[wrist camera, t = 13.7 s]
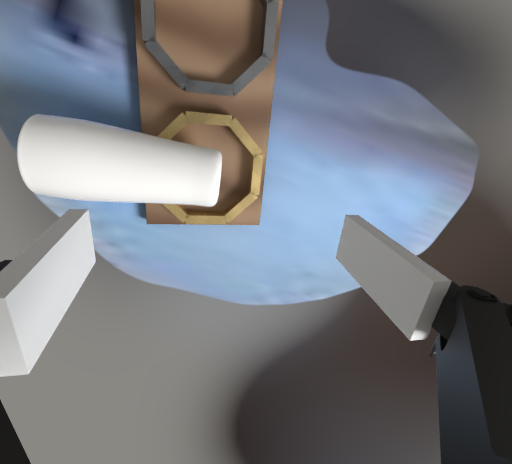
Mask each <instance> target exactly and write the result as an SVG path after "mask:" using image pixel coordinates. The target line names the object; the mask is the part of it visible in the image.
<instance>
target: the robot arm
mask: <svg viewBox="0 0 512 464" xmlns="http://www.w3.org/2000/svg"><path fill="white" fill-rule="evenodd" d="M336 259H337V260H338V261H339V262H340V263H341V264H342V265H343V267H344V268H345V269H346V270H347V271H348V272H349V273H350V274H351V275H352V277H353V278H354V279H355V280H356V281H357V282H358V283H359V284H360V285H361V287H362V288H363V289H364V290H365V291H366V292H367V293H368V294H369V295H370V297H371V298H372V299H373V300H374V301H375V302H376V303H377V304H378V305H379V307H380V308H381V309H382V310H383V311H384V312H385V313H386V314H387V315H388V317H389V318H390V319H391V320H392V321H393V322H394V323H395V324H396V326H397V327H398V328H399V329H400V330H401V331H402V332H403V333H404V334H405V335H406V337H407V338H408V339H409V340H410V341H411V340H422V339H427V336H428V334H429V332H430V330H431V327H433V328H434V329H435V330H436V331H437V332H438V333H439V334H438V336H437V338H436V341H435V343H434V345H433V347H432V349H431V352H430V354H429V356H430V357H432V356H433V354H435V353H436V365H437V384H438V385H437V386H438V408H439V429H440V449H441V450H440V451H441V464H512V304H507V303H501V301H500V300H499V299H498V298H497V297H496V296H495V295H493V294H491V293H490V292H488V291H486V290H483V289H480V288H478V287H474V286H468V285H463V286H458V285H457V284H456V283H454V282H453V281H451V280H450V279H448V278H447V277H446V276H444V275H443V274H441V273H440V272H438V271H437V270H436V269H434V268H433V267H431V266H430V265H429V264H427V263H426V262H424V261H423V260H422V259H419V258H418V257H417V256H415V255H414V254H412V253H411V252H410V251H408V250H407V249H405V248H404V247H403V246H401V245H400V244H398V243H397V242H395V241H394V240H393V239H391V238H390V237H388V236H387V235H386V234H384V233H383V232H381V231H380V230H378V229H377V228H376V227H374V226H373V225H371V224H370V223H369V222H367V221H366V220H364V219H363V218H361V217H360V216H359V215H346V217H345V221H344V225H343V229H342V234H341V238H340V242H339V246H338V250H337V255H336ZM95 262H96V260H95V252H94V246H93V239H92V232H91V225H90V218H89V212H88V209H69V210H68V211H67V212H66V213H65V214H64V215H63V216H61V217H60V218H59V219H58V220H57V221H56V222H55V223H54V224H53V225H51V226H50V227H49V228H48V229H47V230H46V231H45V232H44V233H43V234H42V235H40V236H39V237H38V238H37V239H36V240H35V241H34V242H33V243H31V244H30V245H29V246H28V247H27V248H26V249H25V250H24V251H23V252H21V253H20V254H19V255H18V256H17V257H16V258H15V259H14V260H5V261H2V262H0V377H2V376H14V375H25V374H29V373H30V371H31V369H32V368H33V366H34V364H35V363H36V361H37V359H38V358H39V356H40V354H41V353H42V351H43V349H44V348H45V346H46V344H47V343H48V341H49V339H50V338H51V336H52V334H53V332H54V331H55V329H56V327H57V326H58V324H59V322H60V321H61V319H62V317H63V316H64V314H65V312H66V311H67V309H68V307H69V306H70V304H71V302H72V301H73V299H74V297H75V296H76V294H77V292H78V290H79V289H80V287H81V285H82V284H83V282H84V280H85V279H86V277H87V275H88V274H89V272H90V270H91V268H92V267H93V265H94V264H95ZM0 464H31V463H30V461H29V459H28V457H27V455H26V453H25V451H24V448H23V446H22V444H21V442H20V440H19V438H18V436H17V434H16V432H15V430H14V428H13V426H12V423H11V421H10V419H9V417H8V415H7V413H6V411H5V409H4V407H3V405H2V403H1V400H0Z"/></svg>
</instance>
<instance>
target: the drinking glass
mask: <svg viewBox="0 0 512 464" xmlns="http://www.w3.org/2000/svg"><path fill="white" fill-rule="evenodd" d="M17 161H18V167H19V171H20V174H21V176H22V179H23V181H24V182H25V184H26V185H27V187H28V188H29V189H30V190H31V191H33V192H34V193H36V194H39V195H46V196H52V197H58V198H66V199H74V200H84V201H99V202H127V203H157V204H183V205H197V206H206V207H212V206H214V205H216V203H217V201H218V196H219V188H220V180H221V170H222V153H221V152H220V151H219V150H218V149H214V148H208V147H202V146H196V145H192V144H187V143H183V142H179V141H174V140H170V139H166V138H161V137H157V136H153V135H149V134H145V133H141V132H136V131H132V130H128V129H124V128H120V127H116V126H112V125H107V124H103V123H98V122H94V121H89V120H83V119H77V118H70V117H63V116H54V115H45V114H35V115H33V116H31V117H29V118H28V119H27V120H26V121H25V123H24V124H23V126H22V128H21V131H20V134H19V137H18V143H17Z"/></svg>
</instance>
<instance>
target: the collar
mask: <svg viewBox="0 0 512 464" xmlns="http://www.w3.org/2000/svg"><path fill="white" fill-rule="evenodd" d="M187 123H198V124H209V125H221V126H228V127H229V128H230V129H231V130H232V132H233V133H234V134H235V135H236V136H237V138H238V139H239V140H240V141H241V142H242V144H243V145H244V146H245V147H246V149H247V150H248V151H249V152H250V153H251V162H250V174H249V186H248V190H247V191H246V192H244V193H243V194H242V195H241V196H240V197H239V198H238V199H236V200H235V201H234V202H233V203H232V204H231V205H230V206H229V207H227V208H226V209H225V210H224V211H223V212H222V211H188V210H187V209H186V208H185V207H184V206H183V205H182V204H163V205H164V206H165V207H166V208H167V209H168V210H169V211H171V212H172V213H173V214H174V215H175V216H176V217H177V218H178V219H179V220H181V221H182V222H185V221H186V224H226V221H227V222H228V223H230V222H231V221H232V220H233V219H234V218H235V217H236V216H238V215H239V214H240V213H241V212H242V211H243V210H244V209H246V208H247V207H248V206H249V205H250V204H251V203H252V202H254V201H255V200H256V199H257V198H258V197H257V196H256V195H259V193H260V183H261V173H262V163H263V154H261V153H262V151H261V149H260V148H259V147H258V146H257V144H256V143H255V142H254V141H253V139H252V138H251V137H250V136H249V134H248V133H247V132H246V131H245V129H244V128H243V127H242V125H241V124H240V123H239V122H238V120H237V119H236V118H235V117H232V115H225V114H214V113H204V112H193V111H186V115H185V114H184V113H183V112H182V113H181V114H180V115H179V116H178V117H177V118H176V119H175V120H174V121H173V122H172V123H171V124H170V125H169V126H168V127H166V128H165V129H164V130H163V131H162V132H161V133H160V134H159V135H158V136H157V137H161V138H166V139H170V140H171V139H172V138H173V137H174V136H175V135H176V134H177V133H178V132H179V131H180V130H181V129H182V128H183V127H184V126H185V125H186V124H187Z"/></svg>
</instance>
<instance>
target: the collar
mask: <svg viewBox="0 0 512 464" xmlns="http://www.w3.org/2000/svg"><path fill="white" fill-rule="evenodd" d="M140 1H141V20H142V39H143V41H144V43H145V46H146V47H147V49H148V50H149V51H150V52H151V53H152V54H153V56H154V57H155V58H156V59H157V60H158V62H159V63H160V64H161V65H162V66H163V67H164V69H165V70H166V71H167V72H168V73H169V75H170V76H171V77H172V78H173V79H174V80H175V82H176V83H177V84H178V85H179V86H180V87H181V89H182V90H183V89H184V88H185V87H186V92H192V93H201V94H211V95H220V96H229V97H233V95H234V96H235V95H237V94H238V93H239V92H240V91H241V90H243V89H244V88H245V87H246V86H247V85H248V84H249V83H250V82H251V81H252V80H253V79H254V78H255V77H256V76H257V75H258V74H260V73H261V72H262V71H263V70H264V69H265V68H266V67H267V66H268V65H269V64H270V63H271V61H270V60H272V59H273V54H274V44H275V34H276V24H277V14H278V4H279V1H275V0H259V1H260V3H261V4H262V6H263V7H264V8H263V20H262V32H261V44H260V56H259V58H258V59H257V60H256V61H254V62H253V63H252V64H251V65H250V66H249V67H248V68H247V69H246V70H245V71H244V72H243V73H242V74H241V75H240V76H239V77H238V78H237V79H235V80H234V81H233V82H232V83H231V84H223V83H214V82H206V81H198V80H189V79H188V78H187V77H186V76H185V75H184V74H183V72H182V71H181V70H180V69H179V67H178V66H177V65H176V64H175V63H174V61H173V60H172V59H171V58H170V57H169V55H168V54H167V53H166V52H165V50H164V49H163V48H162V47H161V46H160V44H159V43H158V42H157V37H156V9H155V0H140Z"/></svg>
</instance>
